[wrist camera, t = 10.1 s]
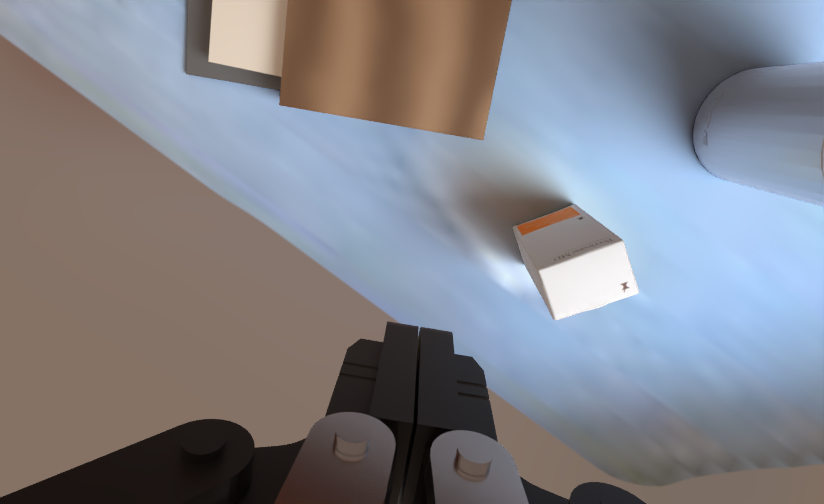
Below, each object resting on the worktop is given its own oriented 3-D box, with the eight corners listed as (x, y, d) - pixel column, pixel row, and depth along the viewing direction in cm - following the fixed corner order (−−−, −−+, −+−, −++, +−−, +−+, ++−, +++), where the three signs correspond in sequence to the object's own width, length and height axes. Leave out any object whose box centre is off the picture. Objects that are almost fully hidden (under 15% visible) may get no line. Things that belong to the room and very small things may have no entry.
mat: (299, -42, 38) (298, -43, 38) (288, 91, 41) (287, 91, 41) (191, -61, 38) (189, -62, 38) (188, 74, 41) (186, 73, 41)
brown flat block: (509, -19, 38) (518, -32, 34) (478, 136, 42) (483, 140, 38) (307, -55, 38) (293, -72, 34) (293, 104, 41) (279, 105, 38)
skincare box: (574, 201, 43) (626, 237, 32) (587, 244, 44) (642, 295, 33) (508, 225, 44) (536, 269, 33) (523, 267, 45) (555, 324, 34)
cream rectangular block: (304, -43, 38) (297, -51, 36) (290, 78, 40) (283, 77, 39) (227, -59, 38) (217, -68, 36) (218, 63, 40) (208, 61, 38)
